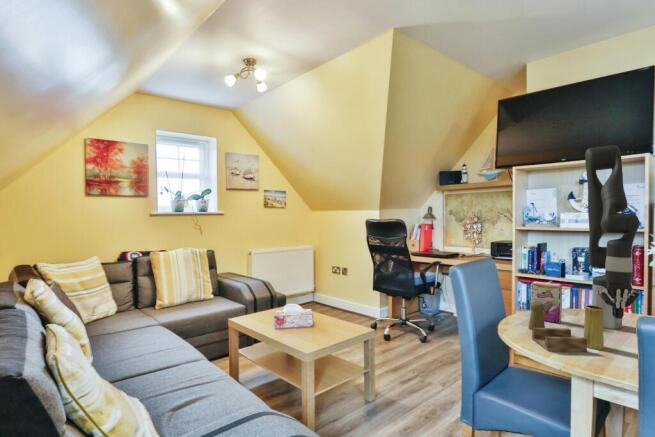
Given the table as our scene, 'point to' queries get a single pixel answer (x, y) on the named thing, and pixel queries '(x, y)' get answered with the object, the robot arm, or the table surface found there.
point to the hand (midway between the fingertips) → (617, 317)
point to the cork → (536, 315)
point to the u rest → (558, 340)
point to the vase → (594, 327)
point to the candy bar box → (548, 299)
